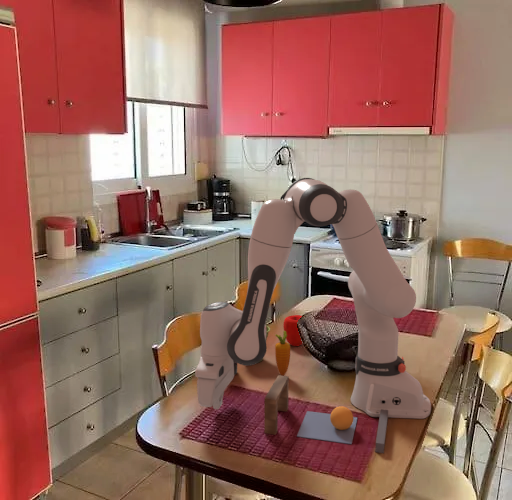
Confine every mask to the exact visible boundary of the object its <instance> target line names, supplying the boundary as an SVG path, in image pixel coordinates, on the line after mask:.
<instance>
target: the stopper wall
mask: <svg viewBox="0 0 512 500" xmlns="http://www.w3.org/2000/svg"><path fill="white" fill-rule="evenodd" d="M378 418H379V419H378V426H377V432H376V438H375V449H374V451H375V453H379V454H385V446H386V445H385V444H386V436H387V428H388V421H389V417H388V410H383V409H381V411H380V417H378Z"/></svg>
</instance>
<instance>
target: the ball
mask: <svg viewBox="0 0 512 500" xmlns="http://www.w3.org/2000/svg"><path fill="white" fill-rule="evenodd" d="M330 414H331V416H330V420H331V423H332V425H333V426H334V427H335V428H337V429H339V430H345V429H348V428H349V427H350V426H351V425H352V423H353V417H354V416H353V415H354V414H353V412H352V410H351V409H349V408H348V407H346V406H342V405H340V406H337V407H334V408H333V409H332V411H331V413H330Z"/></svg>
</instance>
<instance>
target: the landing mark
mask: <svg viewBox="0 0 512 500" xmlns="http://www.w3.org/2000/svg"><path fill="white" fill-rule="evenodd" d="M330 416H331V413H325V412H318V411H317V412H316V411H312V410H311V411H309V410H307V411H306V412H305V415H304V418H303V420H302V422H301V425H300V427H299V430H298V432H297V434H296V437H297V438H304V439H311V440H318V441H326V442H333V443H339V444H346V445H352V443H353V440H354V435H355V431H356V426H357V422H358V417H356V416H353V423H352V425H351V426H350V427H349V428H348V429H345V430H339V429H337V428H335V427H334V426H333V425H332V423H331V420H330Z"/></svg>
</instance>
